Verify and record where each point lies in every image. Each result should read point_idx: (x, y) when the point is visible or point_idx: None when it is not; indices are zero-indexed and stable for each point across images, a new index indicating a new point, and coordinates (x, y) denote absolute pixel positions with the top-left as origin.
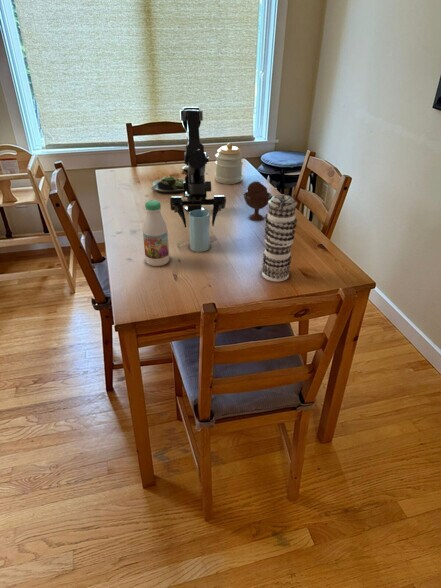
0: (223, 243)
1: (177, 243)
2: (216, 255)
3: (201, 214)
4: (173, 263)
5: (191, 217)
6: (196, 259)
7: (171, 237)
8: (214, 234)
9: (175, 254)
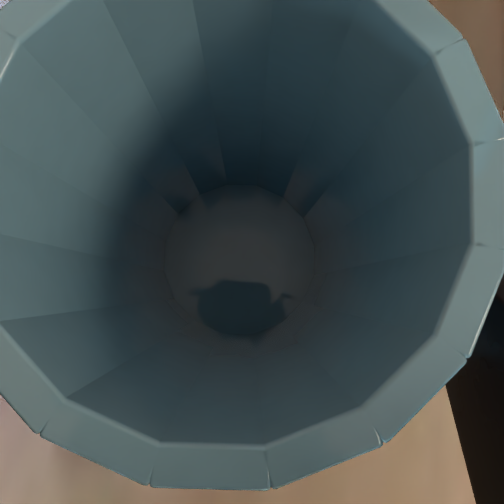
0: None
1: None
2: None
3: (140, 385)
4: (475, 41)
5: (444, 39)
6: None
7: (462, 500)
8: (58, 492)
9: None
